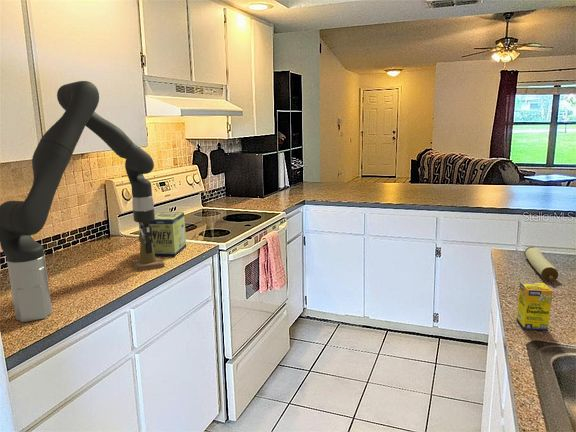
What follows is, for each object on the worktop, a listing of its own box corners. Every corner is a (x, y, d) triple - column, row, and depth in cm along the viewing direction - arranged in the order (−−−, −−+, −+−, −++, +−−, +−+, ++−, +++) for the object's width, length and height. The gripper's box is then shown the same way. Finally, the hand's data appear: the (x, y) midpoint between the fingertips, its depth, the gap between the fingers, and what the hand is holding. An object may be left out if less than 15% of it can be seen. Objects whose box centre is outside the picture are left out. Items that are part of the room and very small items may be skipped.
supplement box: (523, 330, 115) (527, 289, 113) (515, 320, 121) (519, 281, 119) (548, 331, 114) (553, 290, 112) (539, 321, 120) (543, 282, 118)
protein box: (150, 257, 184) (147, 219, 180) (163, 246, 199) (160, 211, 195) (175, 257, 183) (172, 219, 179) (186, 246, 198) (184, 211, 195)
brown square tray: (164, 267, 171) (164, 262, 170) (136, 271, 166) (136, 267, 166) (159, 260, 179) (159, 256, 179) (133, 264, 175) (132, 259, 175)
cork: (151, 264, 169) (149, 235, 167) (136, 263, 170) (133, 235, 168) (158, 259, 175) (156, 231, 173) (144, 258, 176) (141, 231, 174)
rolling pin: (521, 256, 176) (522, 243, 175) (537, 257, 174) (538, 244, 173) (542, 285, 146) (543, 270, 145) (561, 286, 144) (563, 271, 143)
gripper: (130, 206, 173) (134, 247, 176) (135, 212, 160) (139, 256, 164) (150, 204, 176) (153, 244, 179) (157, 210, 163) (160, 253, 167)
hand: (147, 250), depth 172 cm, fingers open, 8 cm apart
